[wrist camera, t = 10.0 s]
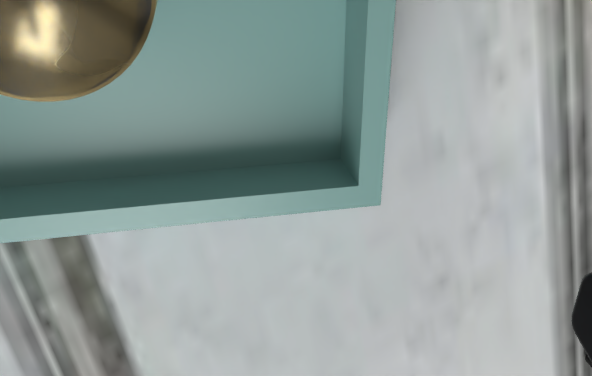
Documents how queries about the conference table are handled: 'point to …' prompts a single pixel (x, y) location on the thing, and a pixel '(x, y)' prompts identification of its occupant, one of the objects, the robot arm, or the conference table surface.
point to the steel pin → (68, 45)
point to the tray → (210, 123)
